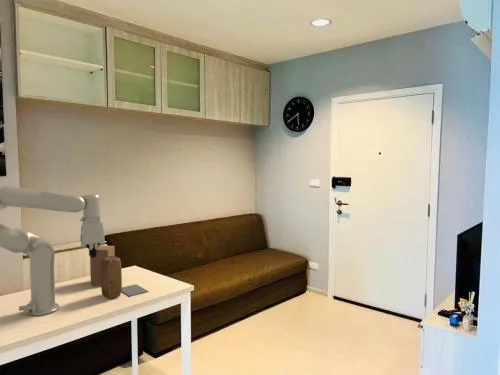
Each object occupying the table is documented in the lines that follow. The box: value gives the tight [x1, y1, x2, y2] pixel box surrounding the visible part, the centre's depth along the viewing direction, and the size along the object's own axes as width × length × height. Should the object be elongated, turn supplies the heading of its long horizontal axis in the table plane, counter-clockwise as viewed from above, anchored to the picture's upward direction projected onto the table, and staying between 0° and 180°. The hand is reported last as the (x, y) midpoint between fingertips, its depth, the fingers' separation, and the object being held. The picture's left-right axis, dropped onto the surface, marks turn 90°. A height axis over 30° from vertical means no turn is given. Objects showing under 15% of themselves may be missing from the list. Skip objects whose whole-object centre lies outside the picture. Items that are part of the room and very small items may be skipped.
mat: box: [121, 283, 149, 298], centre depth 193 cm, size 10×14×1 cm
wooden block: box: [89, 245, 116, 286], centre depth 205 cm, size 10×10×20 cm
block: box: [100, 255, 123, 300], centre depth 184 cm, size 11×8×20 cm
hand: (92, 256), depth 178 cm, fingers closed
